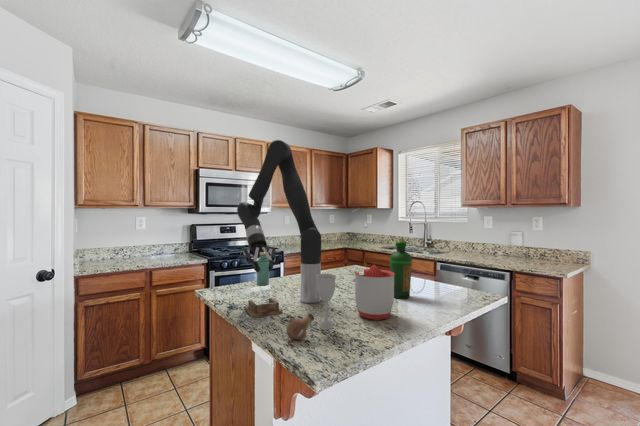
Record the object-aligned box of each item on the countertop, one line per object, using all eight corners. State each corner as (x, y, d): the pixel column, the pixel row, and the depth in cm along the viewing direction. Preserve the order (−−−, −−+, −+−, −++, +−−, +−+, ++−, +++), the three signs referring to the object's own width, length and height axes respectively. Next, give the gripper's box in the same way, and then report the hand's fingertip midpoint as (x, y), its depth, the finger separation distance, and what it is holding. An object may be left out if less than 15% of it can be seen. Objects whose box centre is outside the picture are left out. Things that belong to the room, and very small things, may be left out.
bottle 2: (414, 300, 146) (415, 239, 146) (391, 299, 146) (392, 239, 146) (408, 294, 157) (409, 237, 156) (387, 293, 157) (387, 237, 157)
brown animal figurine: (312, 335, 103) (313, 311, 103) (315, 340, 99) (315, 315, 99) (285, 338, 101) (285, 313, 101) (287, 343, 97) (287, 317, 97)
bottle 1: (268, 282, 131) (268, 251, 131) (269, 285, 126) (269, 253, 126) (256, 283, 130) (256, 251, 130) (256, 286, 125) (257, 253, 125)
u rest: (271, 305, 136) (271, 296, 136) (282, 313, 126) (282, 303, 126) (244, 309, 130) (244, 299, 130) (252, 317, 120) (252, 307, 120)
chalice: (338, 324, 113) (338, 274, 113) (333, 331, 107) (333, 278, 107) (319, 322, 115) (319, 273, 115) (312, 328, 109) (313, 276, 109)
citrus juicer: (366, 306, 136) (366, 259, 136) (402, 315, 123) (402, 264, 123) (342, 314, 125) (342, 263, 125) (379, 325, 112) (379, 269, 112)
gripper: (241, 232, 131) (248, 266, 121) (273, 231, 138) (283, 263, 127) (237, 244, 136) (244, 277, 125) (269, 242, 143) (278, 274, 132)
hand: (264, 270), depth 126 cm, fingers closed on bottle 1, 5 cm apart
